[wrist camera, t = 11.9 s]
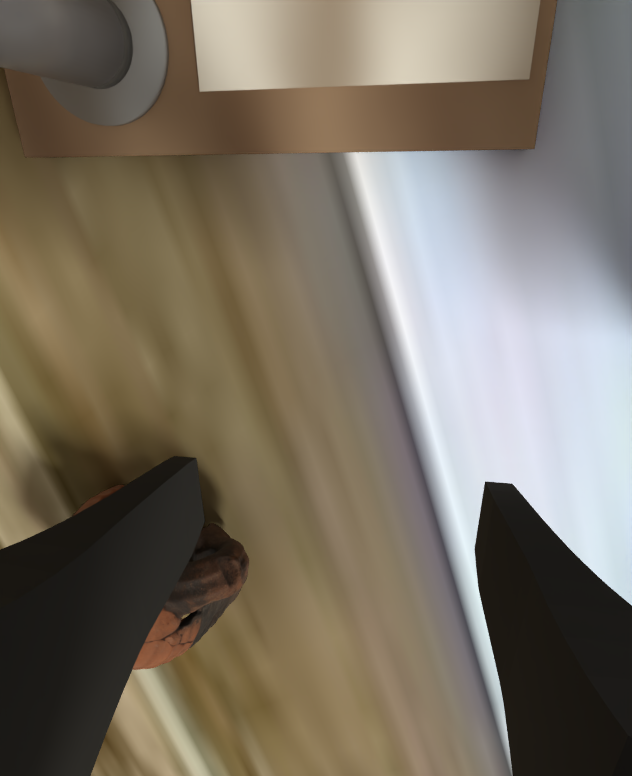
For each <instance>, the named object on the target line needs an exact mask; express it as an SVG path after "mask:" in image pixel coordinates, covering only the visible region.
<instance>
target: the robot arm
mask: <svg viewBox="0 0 632 776" xmlns="http://www.w3.org/2000/svg"><path fill="white" fill-rule="evenodd" d="M204 522H205V519H204V512H203V504H202V497H201V490H200V482H199V475H198V467H197V460H196V458H190V457H178V456H174V457H172V458H170V459H168V460H166V461H164V462H163V463H161V464H159V465H158V466H156V467H154V468H153V469H151V470H150V471H148V472H146V473H145V474H143V475H142V476H140V477H138V478H137V479H135V480H134V481H132V482H130V483H129V484H127V485H126V486H124V487H122V488H121V489H119V490H117V491H116V492H114V493H113V494H111V495H109V496H108V497H106V498H104V499H102V500H101V501H99V502H97V503H95V504H94V505H92V506H90V507H88V508H87V509H85V510H83V511H81V512H79V513H78V514H76V515H74V516H72V517H71V518H69V519H67V520H65V521H63V522H61V523H59V524H57V525H55V526H53V527H51V528H49V529H47V530H45V531H42V532H40V533H38V534H36V535H34V536H32V537H30V538H27V539H25V540H23V541H21V542H18V543H16V544H13V545H11V546H8V547H6V548H3V549H1V550H0V776H90V775H91V773H92V770H93V767H94V764H95V762H96V759H97V756H98V754H99V751H100V748H101V746H102V743H103V740H104V738H105V735H106V732H107V730H108V727H109V725H110V722H111V720H112V717H113V715H114V712H115V710H116V707H117V705H118V702H119V700H120V697H121V695H122V692H123V690H124V688H125V685H126V683H127V681H128V678H129V676H130V674H131V671H132V669H133V667H134V664H135V662H136V660H137V657H138V655H139V653H140V650H141V648H142V646H143V644H144V642H145V640H146V638H147V636H148V634H149V632H150V631H151V629H152V627H153V625H154V623H155V622H156V620H157V618H158V616H159V614H160V613H161V611H162V609H163V607H164V605H165V604H166V602H167V600H168V598H169V596H170V595H171V593H172V591H173V589H174V587H175V586H176V584H177V582H178V580H179V578H180V576H181V575H182V573H183V571H184V569H185V567H186V565H187V563H188V562H189V560H190V558H191V556H192V553H193V551H194V548H195V546H196V543H197V541H198V538H199V536H200V533H201V530H202V527H203V525H204ZM475 557H476V568H477V578H478V587H479V592H480V597H481V601H482V606H483V610H484V615H485V619H486V624H487V628H488V632H489V637H490V641H491V646H492V650H493V654H494V659H495V663H496V667H497V672H498V676H499V680H500V686H501V691H502V696H503V702H504V709H505V716H506V724H507V732H508V740H509V747H510V755H511V764H512V773H513V776H632V606H631V605H630V604H629V603H628V602H627V601H625V600H624V599H623V598H622V597H621V596H619V595H618V594H617V593H616V592H615V591H614V590H612V589H611V588H610V587H609V586H608V585H607V584H606V583H604V582H603V581H602V580H601V579H600V578H599V577H598V576H597V575H596V574H595V573H594V572H593V571H592V570H591V569H589V568H588V567H587V566H586V565H585V564H584V563H583V562H582V561H581V560H580V559H579V558H578V557H577V556H576V555H575V554H574V553H573V552H572V551H571V550H570V549H569V548H568V547H567V546H566V545H565V543H564V542H563V541H562V540H561V539H560V538H559V537H558V536H557V535H556V534H555V533H554V532H553V531H552V529H551V528H550V527H549V526H548V525H547V524H546V523H545V521H544V520H543V519H542V518H541V517H540V516H539V515H538V513H537V512H536V511H535V510H534V509H533V508H532V506H531V505H530V504H529V503H528V502H527V500H526V499H525V498H524V497H523V496H522V494H521V493H520V492H519V491H518V490H517V489H516V488H515V486H514V485H513V484H508V483H496V482H485V486H484V493H483V499H482V505H481V512H480V518H479V525H478V531H477V538H476V544H475Z"/></svg>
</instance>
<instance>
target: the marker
mask: <svg viewBox="0 0 632 776" xmlns="http://www.w3.org/2000/svg"><path fill="white" fill-rule="evenodd" d="M132 56H133V41H132V35H131V31H130V28H129V25H128V23H127V20H126V19H125V17H124V15H123V13H122V12H121V10H120V9H119V8H118V7H117V5H116V4H115V3H113V2H112V1H111V0H0V67H2V68H6V69H10V70H15V71H19V72H24V73H28V74H33V75H37V76H41V77H46V78H50V79H55V80H59V81H63V82H68V83H72V84H77V85H81V86H86V87H90V88H95V89H108V88H111V87H113V86H115V85H117V84H118V83H119V82H120V81H121V80H122V79H123V78H124V77H125V76H126V74H127V72H128V70H129V68H130V65H131V61H132Z"/></svg>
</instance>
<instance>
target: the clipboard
mask: <svg viewBox="0 0 632 776" xmlns="http://www.w3.org/2000/svg"><path fill="white" fill-rule="evenodd" d="M111 1H112V2H113V3H115V4H116V5H117V7H118V8H119V9H120V10H121V12H122V13H123V15H124V17H125V19H126V20H127V23H128V25H129V28H130V31H131V35H132V41H133V56H132V61H131V65H130V68H129V70H128V72H127V74H126V76H125V77H124V78H123V79H122V80H121V81H120V82H119V83H118V84H117V85H115V86H113V87H111V88H108V89H95V88H90V87H86V86H81V85H77V84H72V83H68V82H63V81H59V80H55V79H50V78H46V77H41V76H37V75H33V74H28V73H24V72H19V71H15V70H10V69H6V68H4V71H5V75H6V79H7V83H8V88H9V92H10V96H11V100H12V105H13V109H14V113H15V117H16V122H17V126H18V130H19V134H20V139H21V143H22V147H23V151H24V156H25V157H93V156H153V155H212V154H272V153H331V152H391V151H450V150H510V149H534V148H535V141H536V135H537V128H538V122H539V115H540V109H541V102H542V96H543V89H544V83H545V76H546V70H547V63H548V57H549V50H550V44H551V37H552V31H553V24H554V18H555V11H556V5H557V0H111Z"/></svg>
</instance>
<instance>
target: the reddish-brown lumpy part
mask: <svg viewBox="0 0 632 776" xmlns="http://www.w3.org/2000/svg"><path fill="white" fill-rule="evenodd" d="M122 487H124V485H117V486H114V487H112V488H110V489H108V490H105V491H102V492H101V493H99V494H98V495H97V496H94V497H92V498H90V499H89V500H87V501H86V503H84V504H82V506H81V507H80V508H79V509H78V510H77V511H76V512H75V513H74V514H73V516H74V515H76V514H78V513H79V512H81V511H83V510H85V509H87V508H88V507H90V506H92V505H94V504H95V503H97V502H99V501H101V500H102V499H104V498H106V497H108V496H109V495H111V494H113V493H114V492H116V491H117V490H119V489H121V488H122ZM248 566H249V558H248V556H247V554H246V552H245V550H244V547H243V546H242V545H241V543H239V542H238V541H236V540H234V539H232V538H230V536H229V535H228V534H227V533H226V532H225V531H224V530H223V529H222V528H221V527H219V526H218V525H216V524H214V523H211V524H209V526H208V527H204V528H203V529H202V530H201V533H200V536H199V538H198V541H197V543H196V546H195V548H194V551H193V553H192V556H191V558H190V560H189V562H188V563H187V565H186V567H185V569H184V571H183V573H182V575H181V576H180V578H179V580H178V582H177V584H176V586H175V587H174V589H173V591H172V593H171V595H170V596H169V598H168V600H167V602H166V604H165V605H164V607H163V609H162V611H161V613H160V614H159V616H158V618H157V620H156V622H155V623H154V625H153V627H152V629H151V631H150V632H149V634H148V636H147V638H146V640H145V642H144V644H143V646H142V648H141V650H140V653H139V655H138V657H137V660H136V662H135V664H134V667H133V669H134V670H138V669H150V668H154V667H157V666H159V665H161V664H164V663H167V662H170V661H171V660H172V659H174V658H175V657H177V656H180V655H182V654H183V653H184V652H186V651H187V650H188V649H189V648H191V647H192V646H193V645H194V644H195V643H196V642H198V641H199V640H200V638H201V637H202V636H203V635H204V634H205V633H206V632H207V631H208V629H209V628H210V627H212V626H213V625H214V624H215V623H216V621H217V620H218V618H219V617H220V616H221V615H222V614H223V613H224V611H225V609H226V608H227V607H228V606H229V604H231V603H232V602H233V601H234V600H235V598H236V597H237V596H238V594H239V592H240V590H241V588H242V585H243V584H244V583H245V581H246V579H247V574H248ZM188 613H190V614H189V615H188V616H187V617H186V618H184V619H182V618H181V617H182V616H183V615H185V614H188ZM181 619H182V620H181Z"/></svg>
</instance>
